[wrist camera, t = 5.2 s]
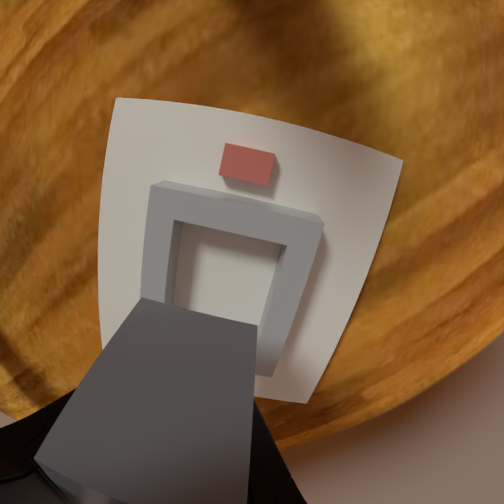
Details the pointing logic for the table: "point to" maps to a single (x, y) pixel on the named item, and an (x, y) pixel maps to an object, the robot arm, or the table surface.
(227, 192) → the socket
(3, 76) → the table surface
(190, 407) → the plug
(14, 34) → the table surface
